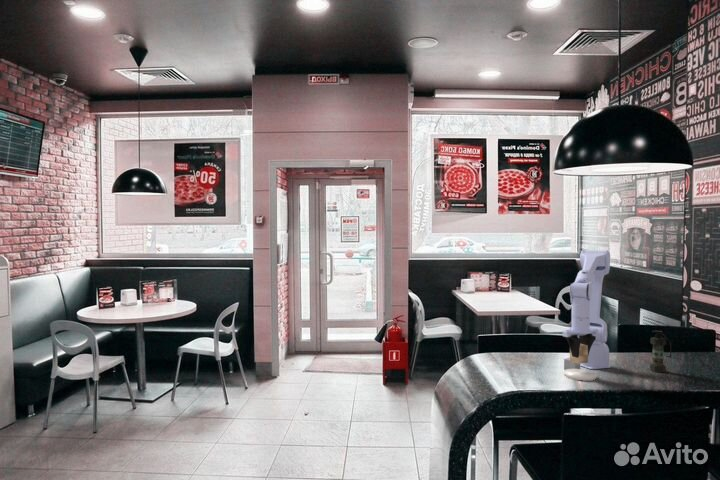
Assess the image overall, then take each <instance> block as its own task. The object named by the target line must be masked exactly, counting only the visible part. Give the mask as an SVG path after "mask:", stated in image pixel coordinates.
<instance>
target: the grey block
mask: <svg viewBox="0 0 720 480" xmlns="http://www.w3.org/2000/svg"><path fill="white" fill-rule="evenodd" d="M566 369H581V366H580V364H578V363H574V362H570V357H567V358H563V370H564V371H565V370H566Z"/></svg>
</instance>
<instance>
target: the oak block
mask: <svg viewBox="0 0 720 480" xmlns="http://www.w3.org/2000/svg"><path fill="white" fill-rule="evenodd" d="M569 358H570V362H574V363H578V364H582V363H588V345H584V344H580V348H579V357H578V358H576V357H573V356H572V353H571V349H570V348H569Z"/></svg>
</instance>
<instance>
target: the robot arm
mask: <svg viewBox="0 0 720 480" xmlns="http://www.w3.org/2000/svg"><path fill="white" fill-rule="evenodd" d="M579 262H580V263H579V264H580V266H581V270H579V272H577V275H576V277H575V280H574V282H572V283H570V285H569V296H570V304H571V327H569V329H565V330H562V337H564V338H565V339H566V341H567V343H568V346H569V350H570V349H571V353H572V356H573V357H576V358H578V357H579V348H580V344H584V345H588V363H582V364H580V367H583V368H586V369H589V370H599V369H600V370H601V369H609V368H610V369H611V368H612V367H611V365H610V348H609V346H608V344H606V343H607V341H608V325H607V322H606V321H605V320H604V319H602V318H601V303H602V291H603V281H604V278H605V276H606V275H608V274H609V273H610V269H611V253H610V251H608V250H586V249H582V250H581V252H580V254H579Z"/></svg>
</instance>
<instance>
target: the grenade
mask: <svg viewBox="0 0 720 480" xmlns="http://www.w3.org/2000/svg"><path fill="white" fill-rule="evenodd" d="M651 332H652V334H653V333H654V337H653V336H652V337H650V339H649V340H650V341H649V343H650V344H651V345H652V363H651V364H649V370H650V371H652V372H655V373H665V372H666V370H667V366H666V365H665V364H664V359H665V358H664V357H666V358H672V341H671V340H670V338H668V337H667V336H666V334H665V333H664V332H663V331H662V329H660V330H651ZM667 342H668V345H670V346H669V350H670V351H669V356H668V355H665V356H664V347H665V346H666V345H667Z"/></svg>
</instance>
